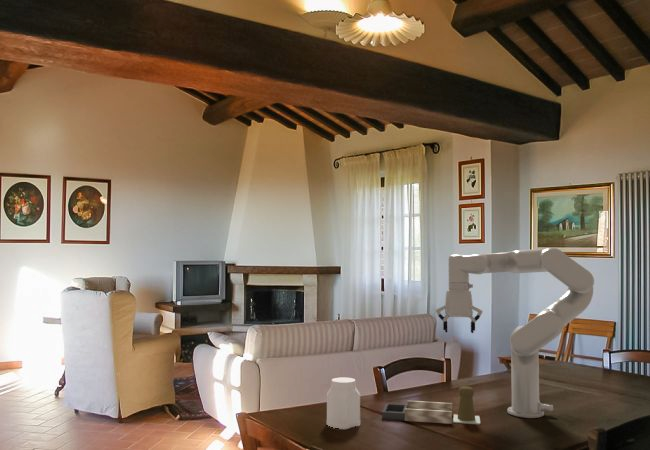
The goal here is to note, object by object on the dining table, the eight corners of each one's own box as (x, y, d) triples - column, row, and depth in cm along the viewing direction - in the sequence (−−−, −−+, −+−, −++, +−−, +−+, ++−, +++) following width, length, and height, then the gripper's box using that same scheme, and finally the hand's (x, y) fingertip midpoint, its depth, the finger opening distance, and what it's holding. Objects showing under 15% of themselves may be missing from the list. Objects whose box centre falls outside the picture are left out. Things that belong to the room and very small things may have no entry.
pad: (479, 417, 208) (479, 415, 208) (480, 424, 199) (480, 423, 199) (453, 415, 210) (453, 414, 210) (453, 422, 201) (453, 421, 201)
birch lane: (452, 414, 211) (452, 403, 211) (451, 423, 199) (451, 411, 200) (407, 411, 215) (407, 400, 215) (404, 420, 203) (404, 409, 203)
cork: (476, 421, 201) (476, 389, 201) (458, 420, 202) (458, 388, 202) (474, 416, 207) (474, 385, 207) (457, 415, 208) (456, 384, 208)
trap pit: (407, 411, 215) (407, 404, 215) (404, 420, 203) (404, 413, 203) (386, 410, 217) (386, 403, 217) (381, 419, 205) (381, 411, 205)
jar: (339, 430, 191) (339, 384, 192) (321, 424, 199) (321, 379, 199) (365, 424, 199) (365, 379, 199) (346, 418, 206) (346, 375, 207)
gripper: (481, 286, 225) (481, 331, 224) (435, 286, 227) (435, 330, 227) (483, 288, 217) (483, 334, 216) (435, 287, 220) (436, 333, 219)
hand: (459, 332), depth 222 cm, fingers open, 9 cm apart
